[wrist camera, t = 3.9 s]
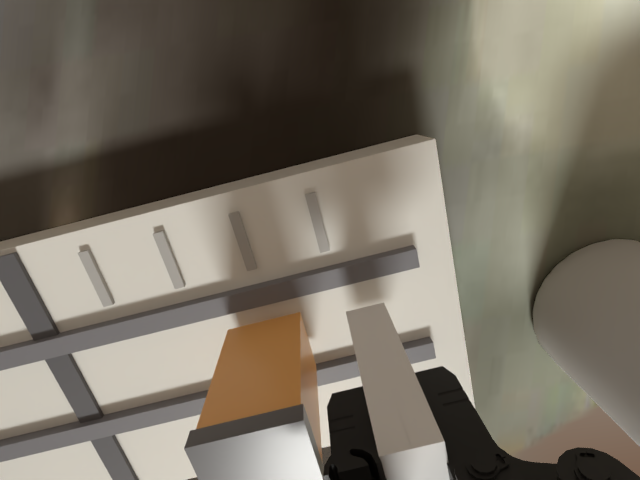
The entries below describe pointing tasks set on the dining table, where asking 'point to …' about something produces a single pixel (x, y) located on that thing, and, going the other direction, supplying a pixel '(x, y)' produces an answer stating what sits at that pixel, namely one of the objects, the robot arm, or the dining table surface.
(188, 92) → the dining table surface
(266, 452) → the fader cap
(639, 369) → the cup
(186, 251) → the console
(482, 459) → the robot arm
